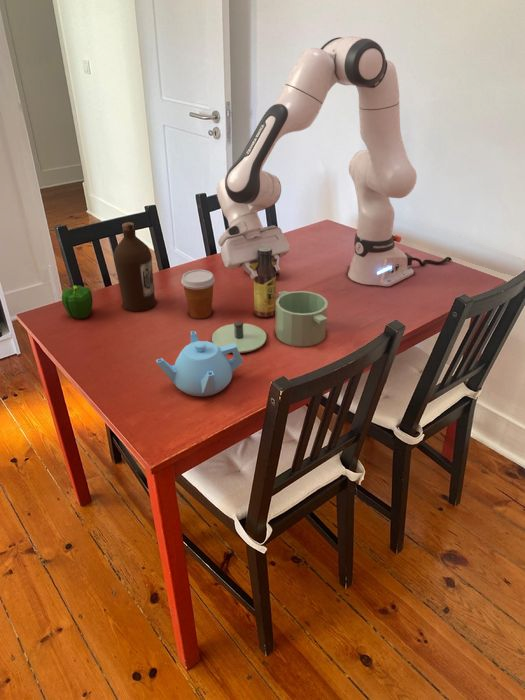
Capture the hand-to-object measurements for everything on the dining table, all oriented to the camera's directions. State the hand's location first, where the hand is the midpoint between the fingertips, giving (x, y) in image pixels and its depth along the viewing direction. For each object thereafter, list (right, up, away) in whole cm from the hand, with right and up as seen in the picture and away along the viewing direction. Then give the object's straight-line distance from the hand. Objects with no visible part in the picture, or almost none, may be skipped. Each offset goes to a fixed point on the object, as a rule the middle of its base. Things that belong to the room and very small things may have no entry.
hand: (266, 274), depth 148 cm
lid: (-7, -18, -6) cm, 20 cm away
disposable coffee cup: (-19, -10, +7) cm, 23 cm away
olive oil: (-38, -7, +12) cm, 41 cm away
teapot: (-15, -29, -22) cm, 39 cm away
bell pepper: (-54, -11, +7) cm, 56 cm away
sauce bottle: (0, -10, +7) cm, 13 cm away
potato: (-1, +4, +30) cm, 30 cm away
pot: (+9, -16, -3) cm, 19 cm away
